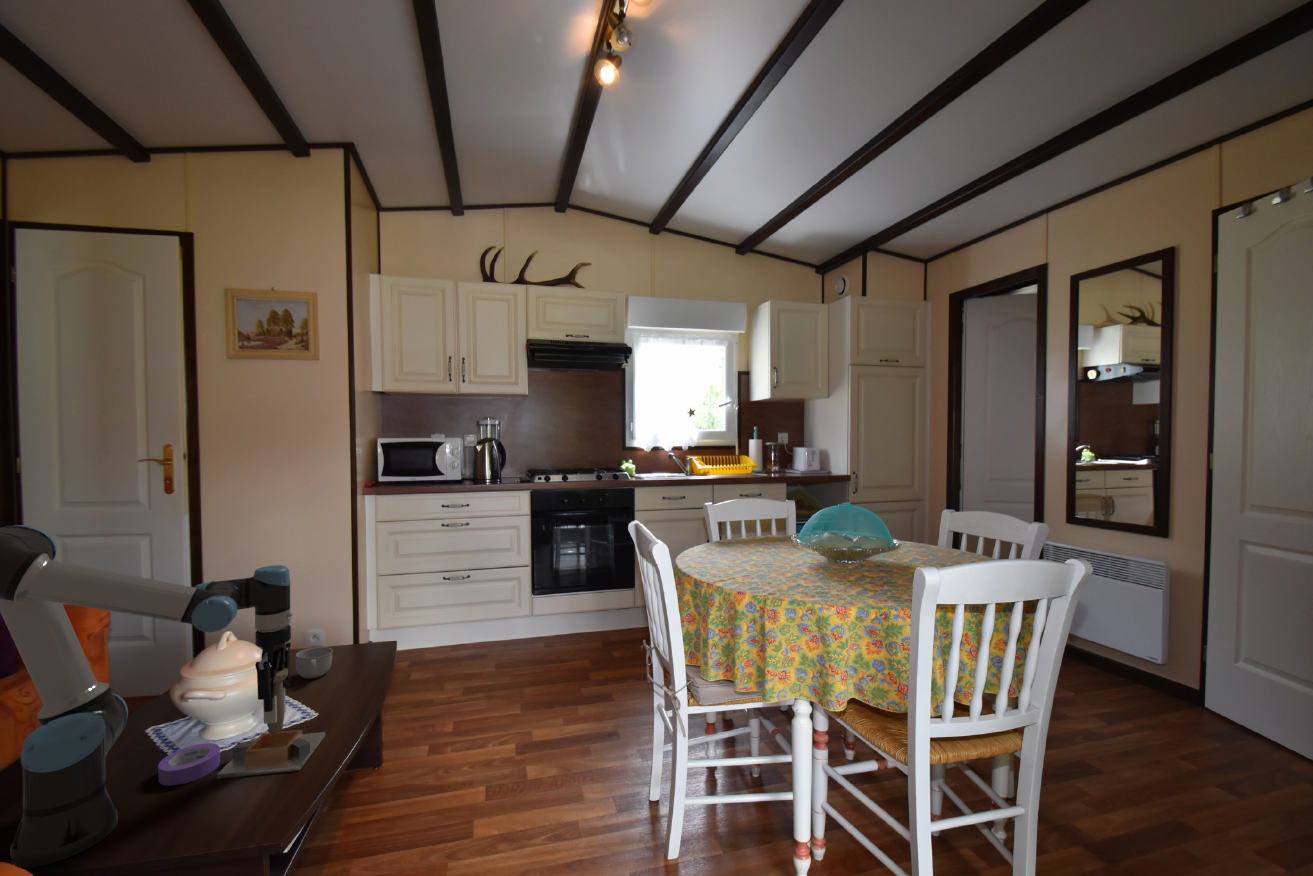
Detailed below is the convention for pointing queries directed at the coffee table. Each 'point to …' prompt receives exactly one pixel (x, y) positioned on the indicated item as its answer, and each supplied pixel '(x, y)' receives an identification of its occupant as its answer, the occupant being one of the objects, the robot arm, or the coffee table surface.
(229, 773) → the coupling base
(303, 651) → the teacup
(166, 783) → the masking tape
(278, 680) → the handle
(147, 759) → the coffee table surface
